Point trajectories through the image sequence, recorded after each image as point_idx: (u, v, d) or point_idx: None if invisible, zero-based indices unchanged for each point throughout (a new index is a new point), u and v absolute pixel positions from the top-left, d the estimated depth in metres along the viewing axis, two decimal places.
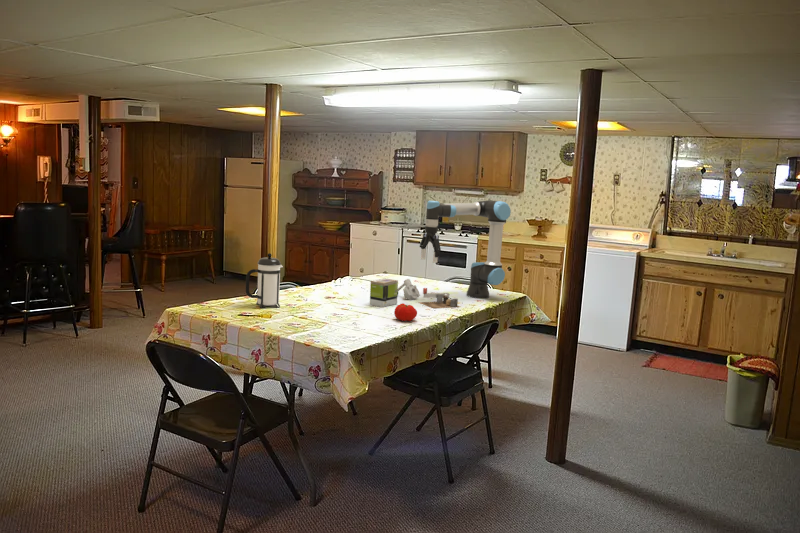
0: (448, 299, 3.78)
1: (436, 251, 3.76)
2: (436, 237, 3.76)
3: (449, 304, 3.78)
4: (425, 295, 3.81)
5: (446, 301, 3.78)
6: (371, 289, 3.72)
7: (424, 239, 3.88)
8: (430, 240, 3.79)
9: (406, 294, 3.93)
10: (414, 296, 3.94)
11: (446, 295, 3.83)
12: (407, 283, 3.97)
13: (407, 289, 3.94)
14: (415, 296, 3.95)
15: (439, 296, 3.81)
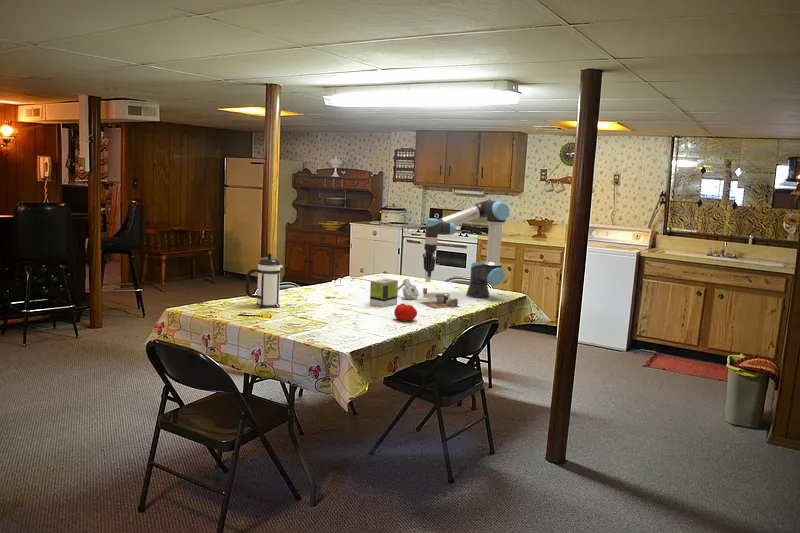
0: (448, 299, 3.78)
1: (429, 271, 3.84)
2: (434, 258, 3.80)
3: (449, 304, 3.78)
4: (425, 295, 3.81)
5: (446, 301, 3.78)
6: (371, 289, 3.72)
7: (425, 259, 3.89)
8: (428, 258, 3.84)
9: (405, 294, 3.94)
10: (413, 296, 3.95)
11: (446, 295, 3.83)
12: (406, 283, 3.98)
13: (406, 289, 3.94)
14: (414, 296, 3.95)
15: (439, 296, 3.81)
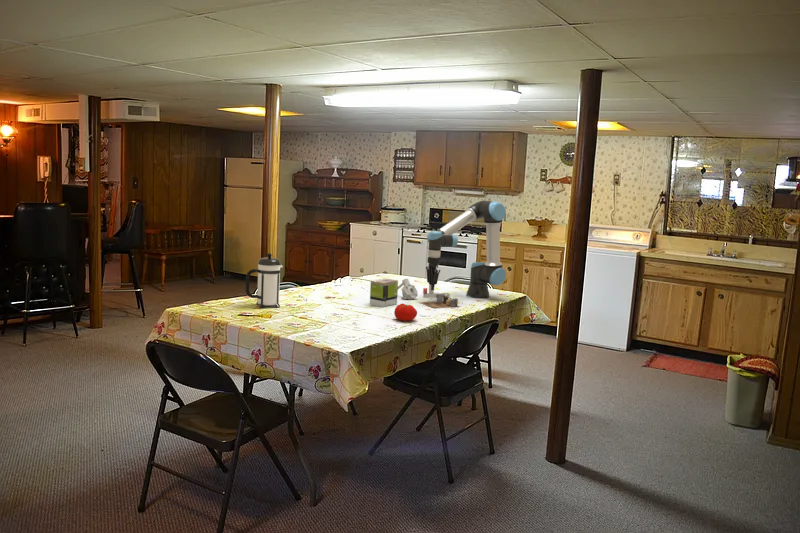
0: (448, 299, 3.78)
1: (432, 284, 3.82)
2: (437, 272, 3.77)
3: (449, 304, 3.78)
4: (425, 295, 3.81)
5: (446, 301, 3.78)
6: (371, 289, 3.72)
7: None
8: (431, 271, 3.81)
9: (404, 294, 3.94)
10: (412, 296, 3.95)
11: (446, 295, 3.83)
12: (405, 283, 3.99)
13: (405, 289, 3.95)
14: (413, 296, 3.96)
15: (439, 296, 3.81)
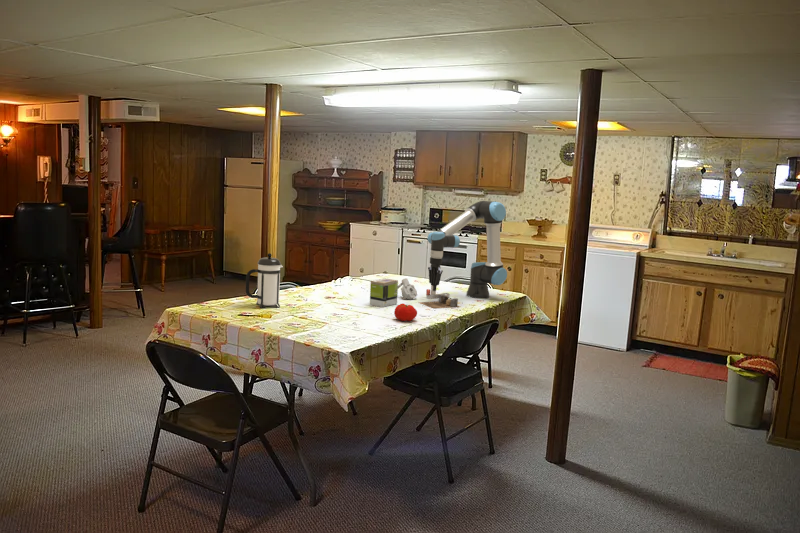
0: (448, 299, 3.78)
1: (434, 285, 3.79)
2: (439, 272, 3.75)
3: (449, 304, 3.78)
4: (429, 296, 3.77)
5: (446, 301, 3.78)
6: (371, 289, 3.72)
7: None
8: (433, 272, 3.78)
9: (404, 293, 3.95)
10: (412, 295, 3.96)
11: (447, 295, 3.83)
12: (405, 282, 3.99)
13: (405, 288, 3.96)
14: (413, 295, 3.96)
15: (442, 296, 3.80)
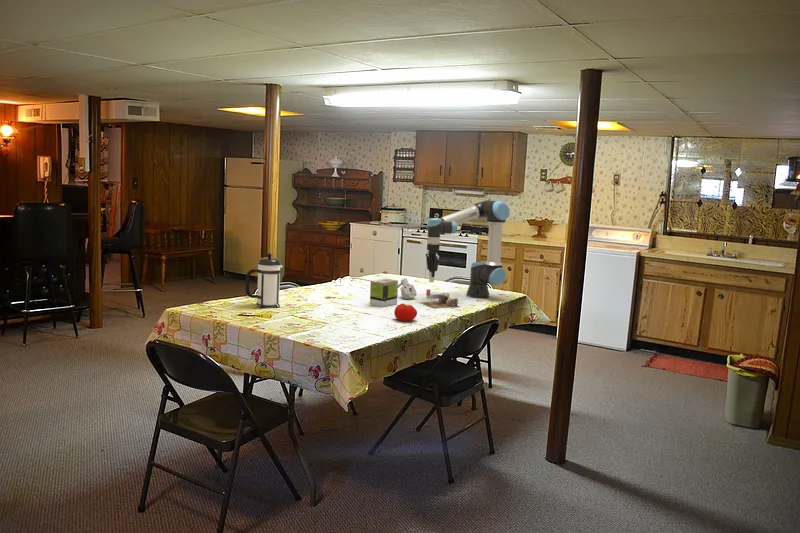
0: (448, 299, 3.78)
1: (432, 271, 3.82)
2: (437, 258, 3.78)
3: (449, 304, 3.78)
4: (429, 296, 3.77)
5: (446, 301, 3.78)
6: (371, 289, 3.72)
7: None
8: (431, 258, 3.81)
9: (403, 293, 3.95)
10: (411, 295, 3.96)
11: (447, 295, 3.83)
12: (404, 282, 4.00)
13: (404, 288, 3.96)
14: (412, 295, 3.97)
15: (442, 297, 3.80)
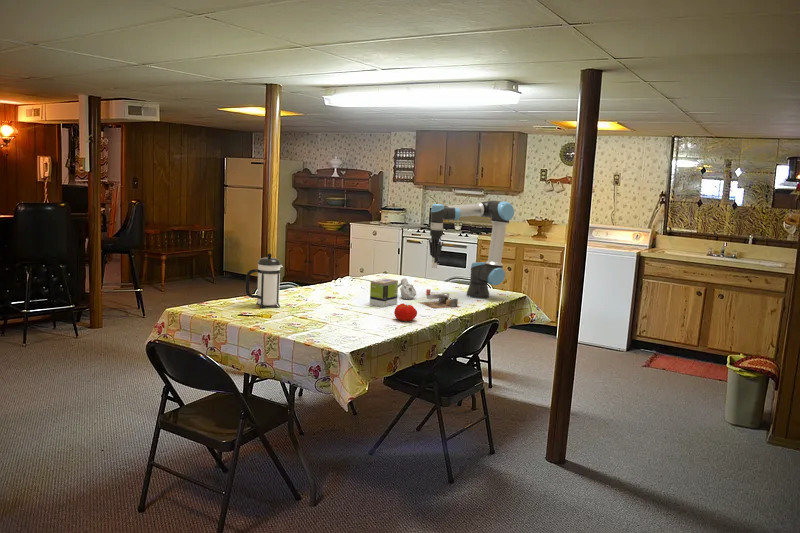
0: (448, 299, 3.78)
1: (435, 257, 3.83)
2: (440, 244, 3.79)
3: (449, 304, 3.78)
4: (429, 296, 3.77)
5: (446, 301, 3.78)
6: (371, 289, 3.72)
7: None
8: (434, 244, 3.82)
9: (403, 293, 3.95)
10: (411, 295, 3.97)
11: (447, 295, 3.83)
12: (404, 282, 4.00)
13: (404, 288, 3.96)
14: (412, 295, 3.97)
15: (442, 297, 3.80)
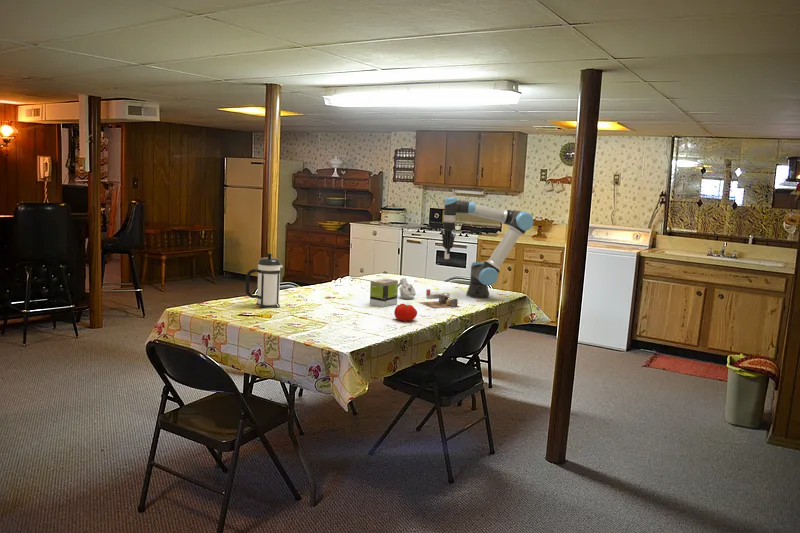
0: (448, 299, 3.78)
1: (448, 248, 3.98)
2: (453, 236, 3.94)
3: (449, 304, 3.78)
4: (429, 296, 3.77)
5: (446, 301, 3.78)
6: (371, 289, 3.72)
7: (444, 237, 4.03)
8: (447, 235, 3.98)
9: (402, 293, 3.96)
10: (410, 295, 3.97)
11: (447, 295, 3.83)
12: (403, 282, 4.00)
13: (403, 288, 3.97)
14: (411, 295, 3.98)
15: (442, 297, 3.80)
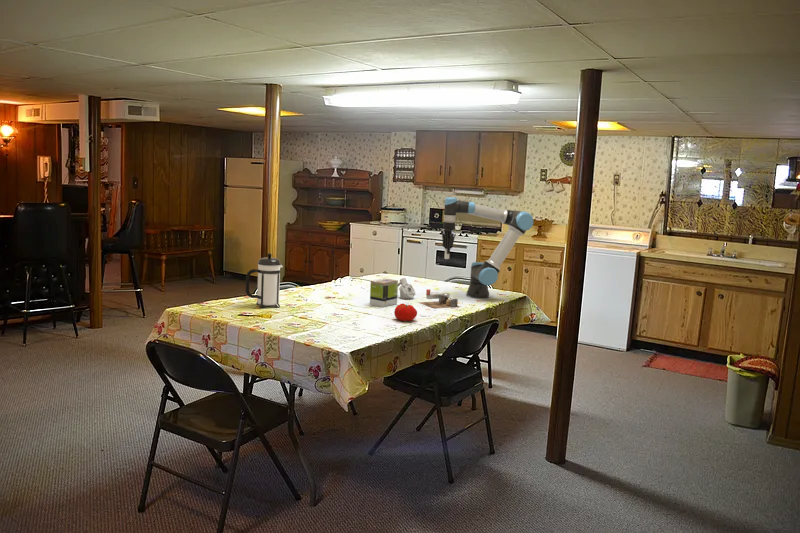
0: (448, 299, 3.78)
1: (448, 248, 3.98)
2: (453, 236, 3.94)
3: (449, 304, 3.78)
4: (429, 296, 3.77)
5: (446, 301, 3.78)
6: (371, 289, 3.72)
7: (444, 237, 4.03)
8: (447, 235, 3.98)
9: (402, 293, 3.96)
10: (410, 295, 3.97)
11: (447, 295, 3.83)
12: (403, 282, 4.00)
13: (403, 288, 3.97)
14: (411, 295, 3.98)
15: (442, 297, 3.80)
